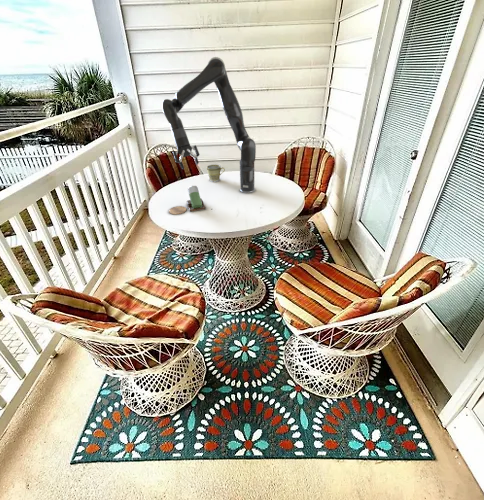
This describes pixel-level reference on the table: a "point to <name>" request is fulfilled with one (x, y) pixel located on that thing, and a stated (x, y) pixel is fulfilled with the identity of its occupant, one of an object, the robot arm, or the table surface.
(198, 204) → the green can
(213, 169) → the ceramic cup
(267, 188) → the table surface
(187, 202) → the walnut rest
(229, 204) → the table surface
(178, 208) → the cork coaster
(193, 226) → the table surface
